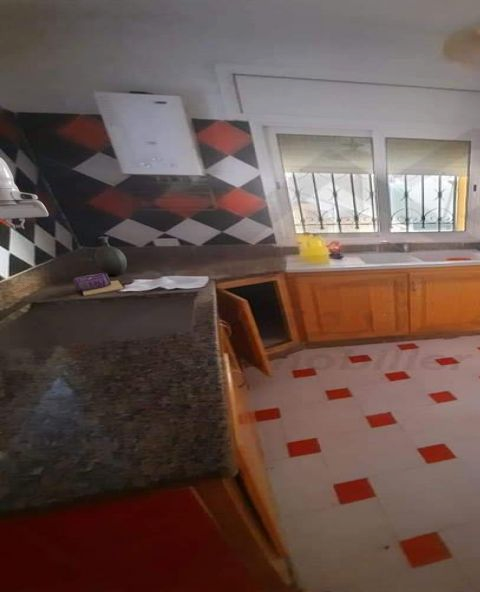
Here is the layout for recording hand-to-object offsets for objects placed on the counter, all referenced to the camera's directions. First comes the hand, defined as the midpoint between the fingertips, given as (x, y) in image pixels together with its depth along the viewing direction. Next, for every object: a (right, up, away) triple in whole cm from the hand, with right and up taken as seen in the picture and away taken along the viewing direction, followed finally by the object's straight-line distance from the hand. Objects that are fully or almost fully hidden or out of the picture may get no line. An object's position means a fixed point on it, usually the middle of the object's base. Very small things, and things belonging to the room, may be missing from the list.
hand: (19, 229), depth 137 cm
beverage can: (+9, -24, +14) cm, 29 cm away
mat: (+14, -25, +22) cm, 36 cm away
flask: (-2, -17, +45) cm, 48 cm away
